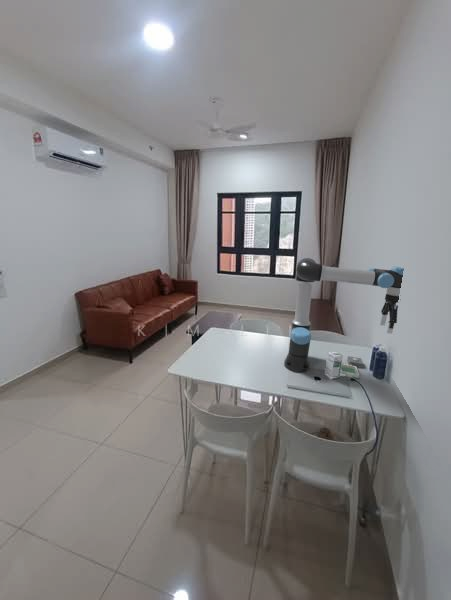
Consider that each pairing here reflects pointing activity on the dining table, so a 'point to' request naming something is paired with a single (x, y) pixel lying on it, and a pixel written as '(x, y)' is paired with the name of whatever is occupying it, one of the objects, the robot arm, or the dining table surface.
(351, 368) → the white green flat box
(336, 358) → the syrup box
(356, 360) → the grey box
